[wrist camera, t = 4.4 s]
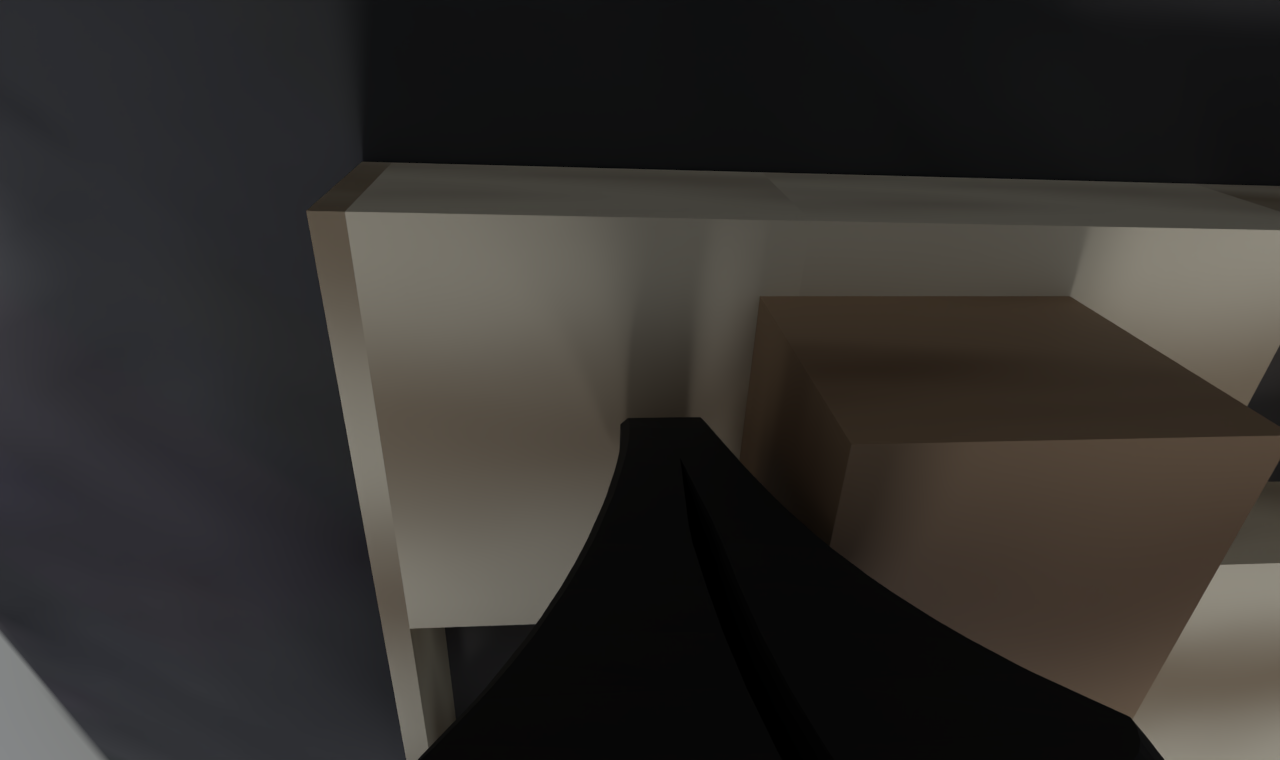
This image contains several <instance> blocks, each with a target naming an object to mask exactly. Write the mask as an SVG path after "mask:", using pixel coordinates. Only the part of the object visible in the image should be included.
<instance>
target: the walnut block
mask: <svg viewBox="0 0 1280 760" xmlns="http://www.w3.org/2000/svg"><path fill="white" fill-rule="evenodd" d="M1279 460H1280V426H1278V425H1276V424H1275V423H1273V422H1271V421H1270V420H1268V419H1267V418H1265V417H1263V416H1262V415H1260V414H1259V413H1257V412H1255V411H1254V410H1252V409H1251V408H1249V407H1247V406H1246V405H1244V404H1243V403H1241V402H1239V401H1238V400H1236V399H1234V398H1233V397H1231V396H1230V395H1228V394H1226V393H1225V392H1223V391H1222V390H1220V389H1218V388H1217V387H1215V386H1214V385H1212V384H1210V383H1209V382H1207V381H1206V380H1204V379H1202V378H1201V377H1199V376H1198V375H1196V374H1194V373H1193V372H1191V371H1189V370H1188V369H1186V368H1185V367H1183V366H1181V365H1180V364H1178V363H1177V362H1175V361H1173V360H1172V359H1170V358H1169V357H1167V356H1165V355H1164V354H1162V353H1161V352H1159V351H1157V350H1156V349H1154V348H1152V347H1151V346H1149V345H1148V344H1146V343H1144V342H1143V341H1141V340H1140V339H1138V338H1136V337H1135V336H1133V335H1132V334H1130V333H1128V332H1127V331H1125V330H1124V329H1122V328H1120V327H1119V326H1117V325H1115V324H1114V323H1112V322H1111V321H1109V320H1107V319H1106V318H1104V317H1103V316H1101V315H1099V314H1098V313H1096V312H1095V311H1093V310H1091V309H1090V308H1088V307H1087V306H1085V305H1083V304H1082V303H1080V302H1078V301H1077V300H1075V299H1074V298H1072V297H1070V296H760V300H759V308H758V316H757V324H756V332H755V340H754V348H753V356H752V364H751V372H750V380H749V388H748V396H747V404H746V412H745V420H744V428H743V436H742V444H741V452H740V460H739V461H740V462H741V463H742V464H743V465H744V466H745V467H746V468H747V469H748V470H749V472H750V473H751V474H752V475H753V476H754V477H755V478H756V479H757V480H758V481H759V482H760V483H761V484H762V485H763V486H764V487H765V488H766V489H767V490H768V491H769V492H770V493H771V494H772V495H773V496H774V497H775V498H776V499H777V500H778V501H779V502H780V503H781V504H782V505H783V506H784V507H785V508H786V509H787V510H788V511H789V512H790V513H792V514H793V515H794V516H795V517H796V518H797V519H798V520H799V521H801V522H802V523H803V524H804V525H805V526H806V527H807V528H808V529H810V530H811V531H812V532H813V533H814V534H815V535H816V536H818V537H819V538H820V539H821V540H822V541H824V542H825V543H826V544H827V545H829V546H830V547H831V548H832V549H834V550H835V551H836V552H838V553H839V554H840V555H842V556H843V557H844V558H846V559H847V560H848V561H850V562H851V563H852V564H854V565H855V566H856V567H858V568H859V569H860V570H862V571H863V572H864V573H865V574H867V575H868V576H870V577H871V578H872V579H874V580H875V581H877V582H878V583H880V584H881V585H883V586H884V587H886V588H887V589H888V590H890V591H891V592H893V593H895V594H896V595H898V596H899V597H901V598H902V599H904V600H906V601H907V602H909V603H910V604H912V605H913V606H915V607H917V608H918V609H920V610H921V611H923V612H924V613H926V614H928V615H929V616H931V617H932V618H934V619H936V620H937V621H939V622H941V623H942V624H944V625H946V626H948V627H949V628H951V629H953V630H955V631H956V632H958V633H960V634H962V635H963V636H965V637H967V638H968V639H970V640H972V641H974V642H976V643H978V644H980V645H982V646H983V647H985V648H987V649H989V650H991V651H993V652H995V653H997V654H999V655H1000V656H1002V657H1004V658H1006V659H1008V660H1010V661H1012V662H1014V663H1015V664H1017V665H1019V666H1021V667H1023V668H1025V669H1027V670H1029V671H1031V672H1033V673H1035V674H1038V675H1040V676H1042V677H1044V678H1046V679H1049V680H1051V681H1053V682H1055V683H1057V684H1059V685H1062V686H1064V687H1066V688H1068V689H1070V690H1073V691H1075V692H1077V693H1079V694H1081V695H1083V696H1086V697H1088V698H1090V699H1092V700H1094V701H1097V702H1099V703H1101V704H1103V705H1105V706H1108V707H1110V708H1112V709H1114V710H1116V711H1118V712H1121V713H1123V714H1125V715H1127V716H1129V717H1131V718H1132V719H1133V718H1134V716H1135V714H1136V712H1137V711H1138V709H1139V707H1140V705H1141V704H1142V702H1143V700H1144V698H1145V696H1146V695H1147V693H1148V691H1149V689H1150V688H1151V686H1152V684H1153V682H1154V681H1155V679H1156V677H1157V675H1158V674H1159V672H1160V670H1161V668H1162V666H1163V665H1164V663H1165V661H1166V659H1167V658H1168V656H1169V654H1170V652H1171V651H1172V649H1173V647H1174V645H1175V644H1176V642H1177V640H1178V638H1179V637H1180V635H1181V633H1182V631H1183V629H1184V628H1185V626H1186V624H1187V622H1188V621H1189V619H1190V617H1191V615H1192V614H1193V612H1194V610H1195V608H1196V607H1197V605H1198V603H1199V601H1200V599H1201V598H1202V596H1203V594H1204V592H1205V591H1206V589H1207V587H1208V585H1209V584H1210V582H1211V580H1212V578H1213V577H1214V575H1215V573H1216V571H1217V569H1218V568H1219V566H1220V564H1221V562H1222V561H1223V559H1224V557H1225V555H1226V554H1227V552H1228V550H1229V548H1230V547H1231V545H1232V543H1233V541H1234V540H1235V538H1236V536H1237V534H1238V532H1239V531H1240V529H1241V527H1242V525H1243V524H1244V522H1245V520H1246V518H1247V517H1248V515H1249V513H1250V511H1251V510H1252V508H1253V506H1254V504H1255V502H1256V501H1257V499H1258V497H1259V495H1260V494H1261V492H1262V490H1263V488H1264V487H1265V485H1266V483H1267V481H1268V480H1269V478H1270V476H1271V474H1272V473H1273V471H1274V469H1275V467H1276V465H1277V464H1278V462H1279Z"/></svg>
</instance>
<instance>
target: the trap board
mask: <svg viewBox="0 0 1280 760" xmlns="http://www.w3.org/2000/svg"><path fill="white" fill-rule="evenodd" d="M306 212H307V217H308V223H309V228H310V234H311V239H312V245H313V250H314V256H315V261H316V267H317V272H318V278H319V283H320V289H321V294H322V300H323V305H324V311H325V316H326V322H327V327H328V333H329V338H330V344H331V349H332V355H333V360H334V366H335V371H336V377H337V382H338V388H339V393H340V398H341V404H342V409H343V415H344V420H345V426H346V431H347V437H348V442H349V448H350V453H351V459H352V464H353V470H354V475H355V481H356V486H357V492H358V497H359V503H360V508H361V514H362V519H363V525H364V530H365V536H366V541H367V547H368V552H369V558H370V563H371V569H372V574H373V580H374V585H375V591H376V596H377V602H378V607H379V612H380V618H381V623H382V629H383V634H384V640H385V645H386V651H387V656H388V662H389V667H390V673H391V678H392V684H393V689H394V695H395V700H396V706H397V711H398V717H399V722H400V728H401V733H402V739H403V744H404V750H405V755H406V760H418V759H419V758H420V756H421V755H422V754H423V753H424V752H425V751H426V750H427V749H428V748H429V747H430V746H431V745H432V744H433V743H434V742H435V741H436V740H437V739H438V738H439V737H440V736H441V735H442V734H443V733H444V732H445V730H446V729H447V728H448V727H449V726H450V725H451V724H452V723H453V722H454V721H455V720H456V719H457V718H458V717H459V716H460V715H461V714H462V713H463V712H464V711H465V710H466V709H467V708H468V707H469V705H470V704H471V703H472V702H473V701H474V700H475V699H476V698H477V697H478V696H479V695H480V693H481V692H482V691H483V690H484V689H485V688H486V687H487V686H488V684H489V683H490V682H491V681H492V679H493V678H494V677H495V676H496V674H497V673H498V672H499V671H500V669H501V668H502V667H503V666H504V665H505V663H506V662H507V661H508V660H509V658H510V657H511V656H512V655H513V653H514V652H515V651H516V650H517V648H518V647H519V646H520V645H521V643H522V642H523V641H524V640H525V638H526V637H527V636H528V634H529V633H530V632H531V630H532V629H533V628H534V626H535V625H536V623H537V622H538V620H539V619H540V618H541V616H542V615H543V613H544V612H545V610H546V609H547V607H548V606H549V604H550V602H551V601H552V599H553V598H554V596H555V595H556V593H557V592H558V590H559V589H560V587H561V586H562V584H563V582H564V581H565V579H566V577H567V575H568V574H569V572H570V570H571V569H572V567H573V565H574V563H575V562H576V560H577V558H578V556H579V554H580V552H581V550H582V548H583V546H584V545H585V543H586V541H587V539H588V537H589V534H590V532H591V530H592V528H593V525H594V523H595V521H596V519H597V516H598V514H599V512H600V510H601V507H602V505H603V503H604V500H605V497H606V495H607V492H608V489H609V486H610V483H611V480H612V477H613V474H614V471H615V467H616V463H617V459H618V455H619V448H620V424H621V423H623V422H624V421H625V420H626V419H627V418H663V417H701V418H702V419H703V420H704V421H705V422H706V423H707V424H708V425H709V427H710V428H711V429H712V430H713V431H714V432H715V433H716V435H717V436H718V437H719V438H720V439H721V440H722V441H723V443H724V444H725V445H726V446H727V447H728V448H729V449H730V451H731V452H732V453H733V454H734V455H735V456H736V457H737V458H738V460H740V452H741V444H742V436H743V428H744V420H745V412H746V404H747V396H748V388H749V380H750V372H751V364H752V356H753V348H754V340H755V332H756V324H757V316H758V308H759V300H760V296H1070V297H1072V298H1074V299H1075V300H1077V301H1078V302H1080V303H1082V304H1083V305H1085V306H1087V307H1088V308H1090V309H1091V310H1093V311H1095V312H1096V313H1098V314H1099V315H1101V316H1103V317H1104V318H1106V319H1107V320H1109V321H1111V322H1112V323H1114V324H1115V325H1117V326H1119V327H1120V328H1122V329H1124V330H1125V331H1127V332H1128V333H1130V334H1132V335H1133V336H1135V337H1136V338H1138V339H1140V340H1141V341H1143V342H1144V343H1146V344H1148V345H1149V346H1151V347H1152V348H1154V349H1156V350H1157V351H1159V352H1161V353H1162V354H1164V355H1165V356H1167V357H1169V358H1170V359H1172V360H1173V361H1175V362H1177V363H1178V364H1180V365H1181V366H1183V367H1185V368H1186V369H1188V370H1189V371H1191V372H1193V373H1194V374H1196V375H1198V376H1199V377H1201V378H1202V379H1204V380H1206V381H1207V382H1209V383H1210V384H1212V385H1214V386H1215V387H1217V388H1218V389H1220V390H1222V391H1223V392H1225V393H1226V394H1228V395H1230V396H1231V397H1233V398H1234V399H1236V400H1238V401H1239V402H1241V403H1243V404H1244V405H1246V406H1247V407H1249V408H1251V409H1252V410H1254V411H1255V412H1257V413H1259V414H1260V415H1262V416H1263V417H1265V418H1267V419H1268V420H1270V421H1271V422H1273V423H1275V424H1276V425H1278V426H1280V186H1258V185H1221V184H1183V183H1145V182H1108V181H1070V180H1032V179H995V178H957V177H919V176H882V175H844V174H806V173H769V172H731V171H694V170H656V169H618V168H581V167H543V166H505V165H468V164H430V163H392V162H361V163H360V164H359V165H358V166H357V167H355V168H354V169H353V170H352V171H351V172H350V173H349V174H348V175H346V176H345V177H344V178H343V179H342V180H341V181H340V182H338V183H337V184H336V185H335V186H334V187H333V188H332V189H331V190H329V191H328V192H327V193H326V194H325V195H324V196H323V197H322V198H320V199H319V200H318V201H317V202H316V203H315V204H314V205H312V206H311V207H310V208H309V209H308V210H307V211H306ZM1132 720H1133V721H1134V722H1135V723H1136V724H1137V726H1138V727H1139V728H1140V729H1141V730H1142V731H1143V733H1144V734H1145V735H1146V736H1147V738H1148V739H1149V740H1150V742H1151V743H1152V744H1153V745H1154V747H1155V748H1156V749H1157V751H1158V752H1159V753H1160V755H1161V756H1162V757H1163V758H1164V760H1280V460H1279V462H1278V464H1277V465H1276V467H1275V469H1274V471H1273V473H1272V474H1271V476H1270V478H1269V480H1268V481H1267V483H1266V485H1265V487H1264V488H1263V490H1262V492H1261V494H1260V495H1259V497H1258V499H1257V501H1256V502H1255V504H1254V506H1253V508H1252V510H1251V511H1250V513H1249V515H1248V517H1247V518H1246V520H1245V522H1244V524H1243V525H1242V527H1241V529H1240V531H1239V532H1238V534H1237V536H1236V538H1235V540H1234V541H1233V543H1232V545H1231V547H1230V548H1229V550H1228V552H1227V554H1226V555H1225V557H1224V559H1223V561H1222V562H1221V564H1220V566H1219V568H1218V569H1217V571H1216V573H1215V575H1214V577H1213V578H1212V580H1211V582H1210V584H1209V585H1208V587H1207V589H1206V591H1205V592H1204V594H1203V596H1202V598H1201V599H1200V601H1199V603H1198V605H1197V607H1196V608H1195V610H1194V612H1193V614H1192V615H1191V617H1190V619H1189V621H1188V622H1187V624H1186V626H1185V628H1184V629H1183V631H1182V633H1181V635H1180V637H1179V638H1178V640H1177V642H1176V644H1175V645H1174V647H1173V649H1172V651H1171V652H1170V654H1169V656H1168V658H1167V659H1166V661H1165V663H1164V665H1163V666H1162V668H1161V670H1160V672H1159V674H1158V675H1157V677H1156V679H1155V681H1154V682H1153V684H1152V686H1151V688H1150V689H1149V691H1148V693H1147V695H1146V696H1145V698H1144V700H1143V702H1142V704H1141V705H1140V707H1139V709H1138V711H1137V712H1136V714H1135V716H1134V718H1133V719H1132Z"/></svg>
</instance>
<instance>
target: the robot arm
mask: <svg viewBox="0 0 1280 760" xmlns="http://www.w3.org/2000/svg"><path fill="white" fill-rule="evenodd" d="M418 760H1164V758H1163V757H1162V756H1161V755H1160V753H1159V752H1158V751H1157V749H1156V748H1155V747H1154V745H1153V744H1152V743H1151V742H1150V740H1149V739H1148V738H1147V736H1146V735H1145V734H1144V733H1143V731H1142V730H1141V729H1140V728H1139V727H1138V726H1137V724H1136V723H1135V722H1134V721H1133V720H1132V718H1131V717H1129V716H1127V715H1125V714H1123V713H1121V712H1118V711H1116V710H1114V709H1112V708H1110V707H1108V706H1105V705H1103V704H1101V703H1099V702H1097V701H1094V700H1092V699H1090V698H1088V697H1086V696H1083V695H1081V694H1079V693H1077V692H1075V691H1073V690H1070V689H1068V688H1066V687H1064V686H1062V685H1059V684H1057V683H1055V682H1053V681H1051V680H1049V679H1046V678H1044V677H1042V676H1040V675H1038V674H1035V673H1033V672H1031V671H1029V670H1027V669H1025V668H1023V667H1021V666H1019V665H1017V664H1015V663H1014V662H1012V661H1010V660H1008V659H1006V658H1004V657H1002V656H1000V655H999V654H997V653H995V652H993V651H991V650H989V649H987V648H985V647H983V646H982V645H980V644H978V643H976V642H974V641H972V640H970V639H968V638H967V637H965V636H963V635H962V634H960V633H958V632H956V631H955V630H953V629H951V628H949V627H948V626H946V625H944V624H942V623H941V622H939V621H937V620H936V619H934V618H932V617H931V616H929V615H928V614H926V613H924V612H923V611H921V610H920V609H918V608H917V607H915V606H913V605H912V604H910V603H909V602H907V601H906V600H904V599H902V598H901V597H899V596H898V595H896V594H895V593H893V592H891V591H890V590H888V589H887V588H886V587H884V586H883V585H881V584H880V583H878V582H877V581H875V580H874V579H872V578H871V577H870V576H868V575H867V574H865V573H864V572H863V571H862V570H860V569H859V568H858V567H856V566H855V565H854V564H852V563H851V562H850V561H848V560H847V559H846V558H844V557H843V556H842V555H840V554H839V553H838V552H836V551H835V550H834V549H832V548H831V547H830V546H829V545H827V544H826V543H825V542H824V541H822V540H821V539H820V538H819V537H818V536H816V535H815V534H814V533H813V532H812V531H811V530H810V529H808V528H807V527H806V526H805V525H804V524H803V523H802V522H801V521H799V520H798V519H797V518H796V517H795V516H794V515H793V514H792V513H790V512H789V511H788V510H787V509H786V508H785V507H784V506H783V505H782V504H781V503H780V502H779V501H778V500H777V499H776V498H775V497H774V496H773V495H772V494H771V493H770V492H769V491H768V490H767V489H766V488H765V487H764V486H763V485H762V484H761V483H760V482H759V481H758V480H757V479H756V478H755V477H754V476H753V475H752V474H751V473H750V472H749V470H748V469H747V468H746V467H745V466H744V465H743V464H742V463H741V462H740V461H739V460H738V458H737V457H736V456H735V455H734V454H733V453H732V452H731V451H730V449H729V448H728V447H727V446H726V445H725V444H724V443H723V441H722V440H721V439H720V438H719V437H718V436H717V435H716V433H715V432H714V431H713V430H712V429H711V428H710V427H709V425H708V424H707V423H706V422H705V421H704V420H703V419H702V418H701V417H663V418H627V419H626V420H625V421H624V422H623V423H621V424H620V448H619V455H618V459H617V463H616V467H615V471H614V474H613V477H612V480H611V483H610V486H609V489H608V492H607V495H606V497H605V500H604V503H603V505H602V507H601V510H600V512H599V514H598V516H597V519H596V521H595V523H594V525H593V528H592V530H591V532H590V534H589V537H588V539H587V541H586V543H585V545H584V546H583V548H582V550H581V552H580V554H579V556H578V558H577V560H576V562H575V563H574V565H573V567H572V569H571V570H570V572H569V574H568V575H567V577H566V579H565V581H564V582H563V584H562V586H561V587H560V589H559V590H558V592H557V593H556V595H555V596H554V598H553V599H552V601H551V602H550V604H549V606H548V607H547V609H546V610H545V612H544V613H543V615H542V616H541V618H540V619H539V620H538V622H537V623H536V625H535V626H534V628H533V629H532V630H531V632H530V633H529V634H528V636H527V637H526V638H525V640H524V641H523V642H522V643H521V645H520V646H519V647H518V648H517V650H516V651H515V652H514V653H513V655H512V656H511V657H510V658H509V660H508V661H507V662H506V663H505V665H504V666H503V667H502V668H501V669H500V671H499V672H498V673H497V674H496V676H495V677H494V678H493V679H492V681H491V682H490V683H489V684H488V686H487V687H486V688H485V689H484V690H483V691H482V692H481V693H480V695H479V696H478V697H477V698H476V699H475V700H474V701H473V702H472V703H471V704H470V705H469V707H468V708H467V709H466V710H465V711H464V712H463V713H462V714H461V715H460V716H459V717H458V718H457V719H456V720H455V721H454V722H453V723H452V724H451V725H450V726H449V727H448V728H447V729H446V730H445V732H444V733H443V734H442V735H441V736H440V737H439V738H438V739H437V740H436V741H435V742H434V743H433V744H432V745H431V746H430V747H429V748H428V749H427V750H426V751H425V752H424V753H423V754H422V755H421V756H420V758H419V759H418Z"/></svg>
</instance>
